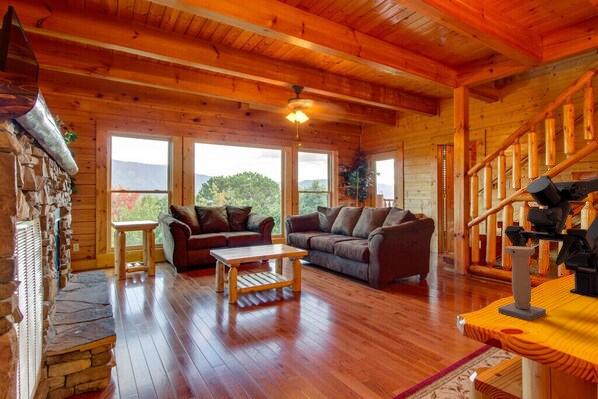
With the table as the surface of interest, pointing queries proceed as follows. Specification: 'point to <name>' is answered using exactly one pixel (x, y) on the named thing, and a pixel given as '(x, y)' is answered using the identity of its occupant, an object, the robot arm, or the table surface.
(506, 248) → the handle
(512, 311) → the plate
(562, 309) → the table surface
